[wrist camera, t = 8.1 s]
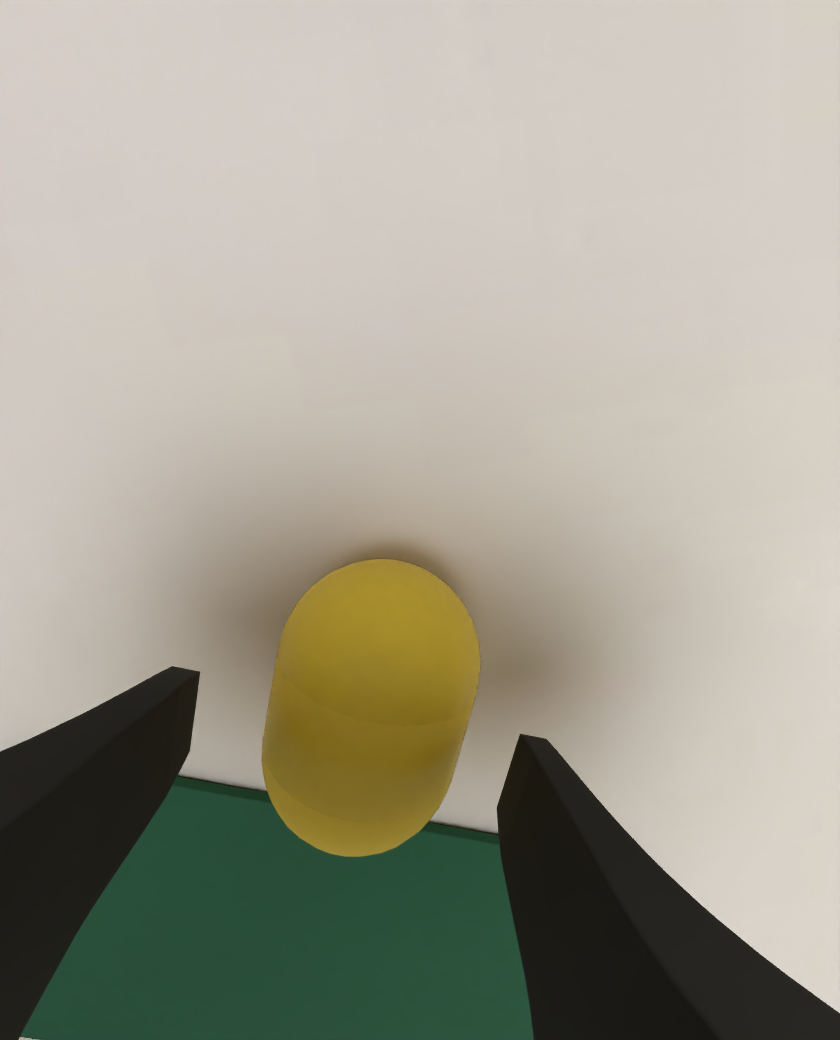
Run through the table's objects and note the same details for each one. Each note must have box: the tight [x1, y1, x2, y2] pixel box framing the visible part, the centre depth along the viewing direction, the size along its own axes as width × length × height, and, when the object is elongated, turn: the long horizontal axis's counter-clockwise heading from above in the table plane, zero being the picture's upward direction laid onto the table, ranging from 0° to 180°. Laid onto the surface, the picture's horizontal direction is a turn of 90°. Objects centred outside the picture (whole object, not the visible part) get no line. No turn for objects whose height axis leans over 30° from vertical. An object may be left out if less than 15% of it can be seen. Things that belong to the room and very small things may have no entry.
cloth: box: [20, 776, 534, 1040], centre depth 17 cm, size 12×20×1 cm, turn 77°
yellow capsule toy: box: [262, 559, 481, 857], centre depth 12 cm, size 7×5×5 cm, turn 167°
